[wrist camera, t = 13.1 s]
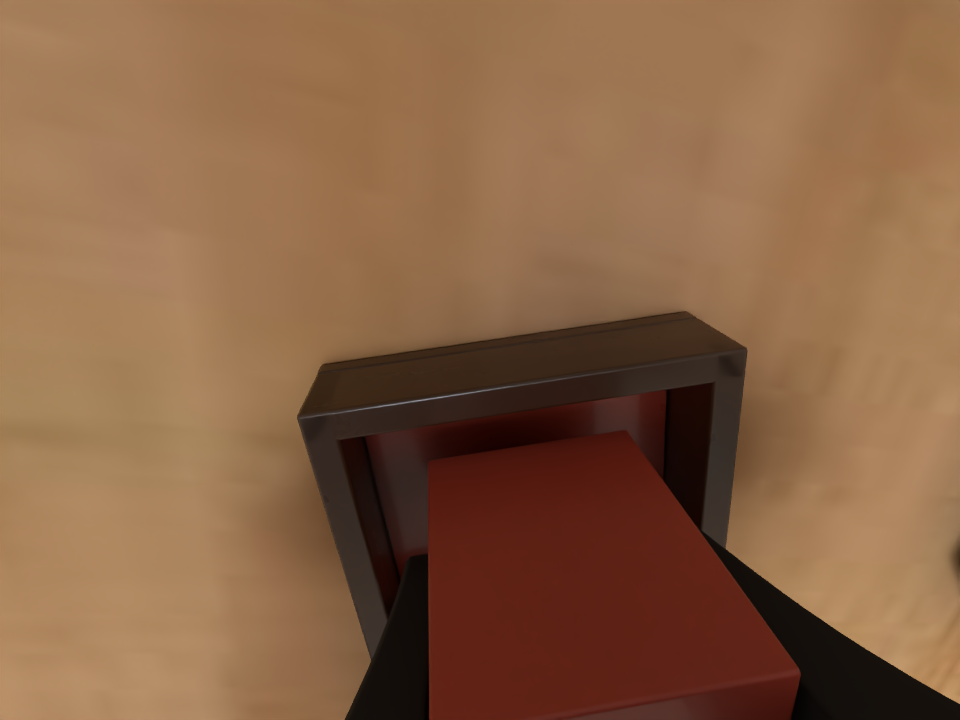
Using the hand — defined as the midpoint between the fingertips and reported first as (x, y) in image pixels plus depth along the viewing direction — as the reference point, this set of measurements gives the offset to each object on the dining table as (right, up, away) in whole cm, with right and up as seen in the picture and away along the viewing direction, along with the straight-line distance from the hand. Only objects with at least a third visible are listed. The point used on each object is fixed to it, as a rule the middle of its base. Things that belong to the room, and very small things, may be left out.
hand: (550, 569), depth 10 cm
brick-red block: (0, +1, +1) cm, 1 cm away
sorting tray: (0, -2, +5) cm, 5 cm away
